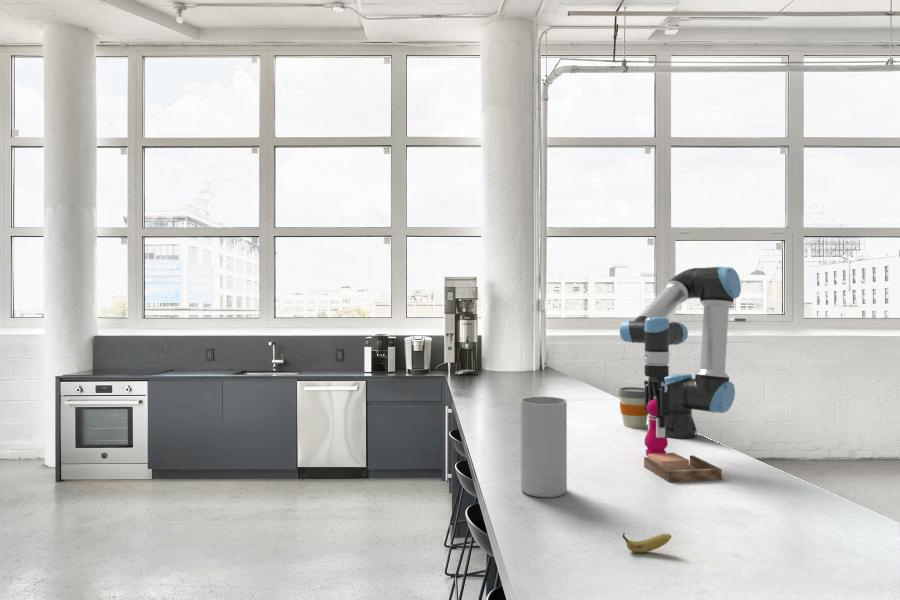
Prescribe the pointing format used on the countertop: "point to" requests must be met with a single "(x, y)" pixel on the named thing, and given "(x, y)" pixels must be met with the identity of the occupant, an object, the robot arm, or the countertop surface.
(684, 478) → the walnut frame
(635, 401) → the reusable coffee cup
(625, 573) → the countertop surface
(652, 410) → the pepper mill
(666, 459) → the terracotta tile
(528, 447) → the cylinder vase
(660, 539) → the banana
